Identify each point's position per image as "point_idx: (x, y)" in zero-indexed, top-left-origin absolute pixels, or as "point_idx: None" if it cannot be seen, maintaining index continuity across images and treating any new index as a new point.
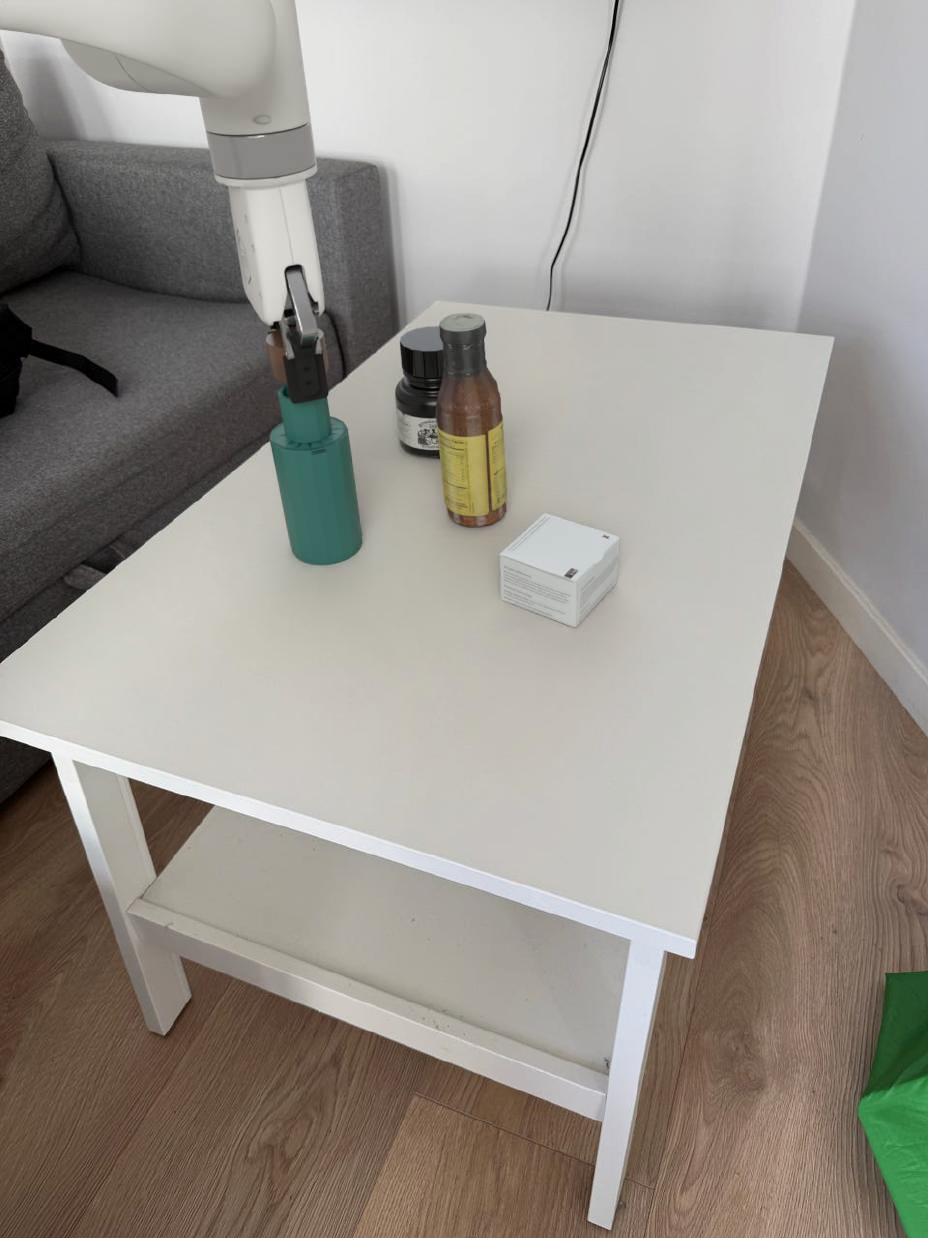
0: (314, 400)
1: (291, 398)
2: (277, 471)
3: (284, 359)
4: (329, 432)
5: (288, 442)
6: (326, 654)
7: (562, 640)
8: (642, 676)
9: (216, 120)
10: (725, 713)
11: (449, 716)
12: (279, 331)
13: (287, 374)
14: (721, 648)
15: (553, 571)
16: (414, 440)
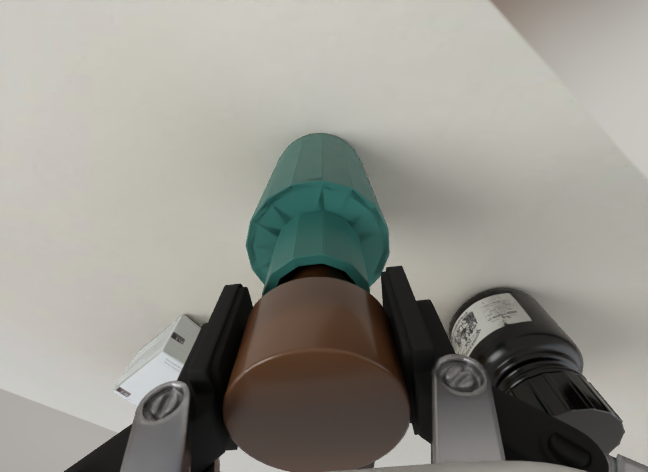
0: None
1: (222, 291)
2: (299, 166)
3: (188, 370)
4: None
5: (288, 213)
6: (110, 150)
7: (125, 339)
8: (81, 372)
9: None
10: (44, 399)
11: (23, 244)
12: (380, 389)
13: (203, 335)
14: (112, 417)
15: (127, 381)
16: (477, 310)
